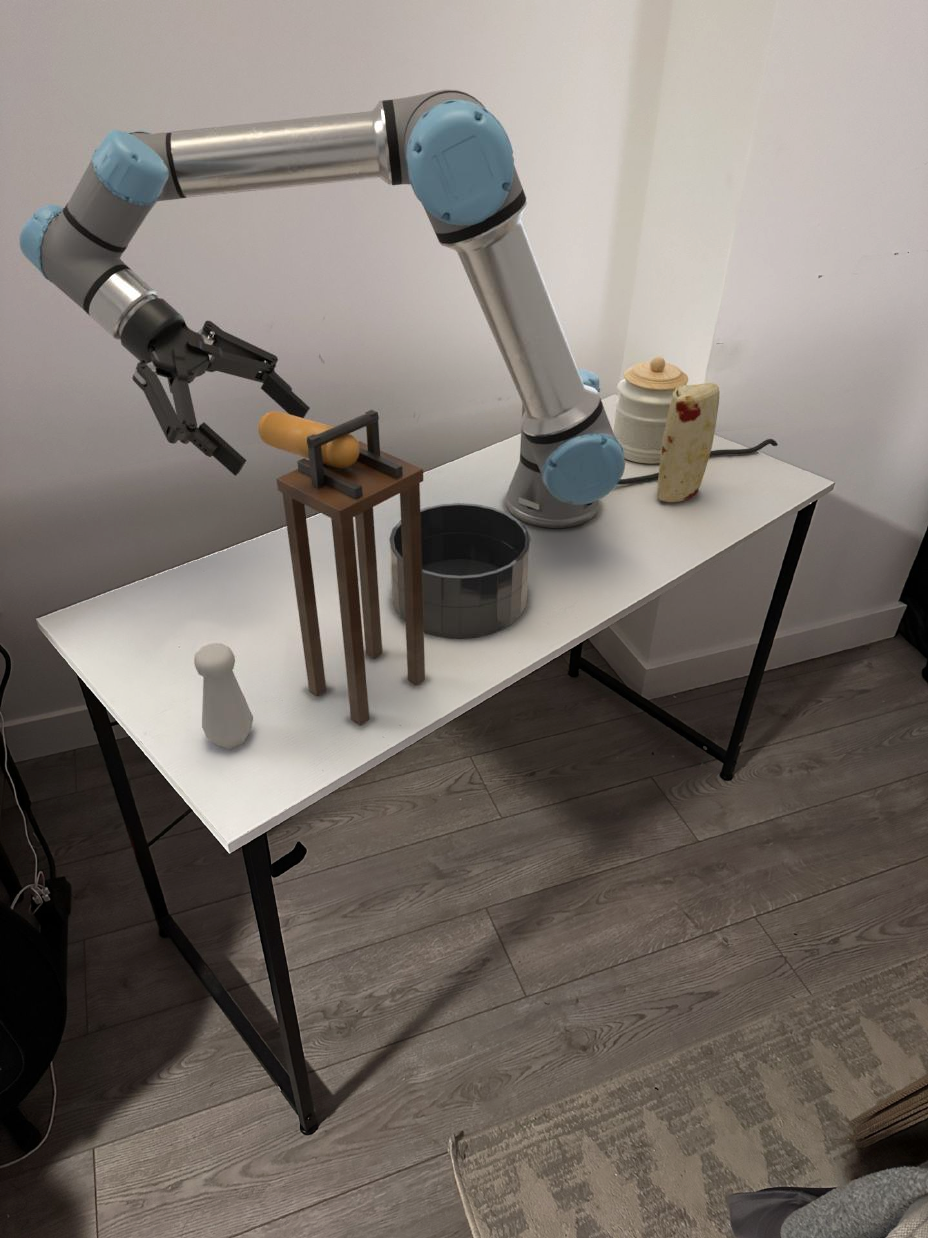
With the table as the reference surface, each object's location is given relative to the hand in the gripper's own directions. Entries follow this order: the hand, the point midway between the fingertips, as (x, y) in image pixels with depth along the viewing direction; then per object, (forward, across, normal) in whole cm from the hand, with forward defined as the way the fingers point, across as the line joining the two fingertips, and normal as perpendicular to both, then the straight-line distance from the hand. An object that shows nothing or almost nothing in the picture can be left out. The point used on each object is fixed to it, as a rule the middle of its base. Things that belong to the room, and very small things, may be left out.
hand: (274, 441), depth 109 cm
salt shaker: (+20, +27, -14) cm, 37 cm away
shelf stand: (+29, +12, -9) cm, 33 cm away
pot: (+32, -10, -10) cm, 35 cm away
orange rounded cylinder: (+6, +8, +10) cm, 14 cm away
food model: (+50, -53, 0) cm, 73 cm away
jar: (+43, -68, -8) cm, 81 cm away
